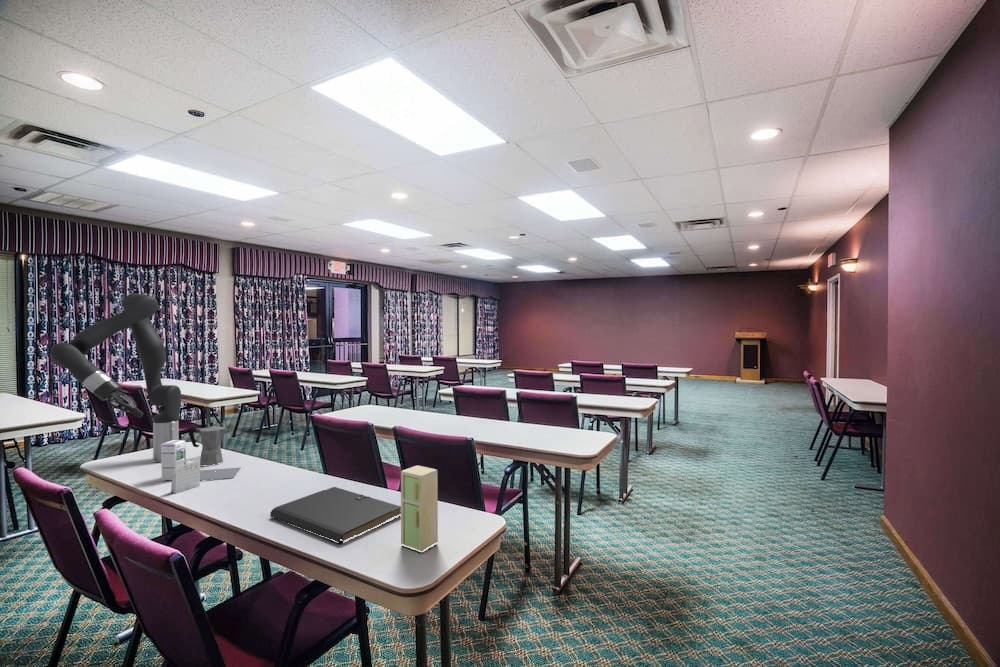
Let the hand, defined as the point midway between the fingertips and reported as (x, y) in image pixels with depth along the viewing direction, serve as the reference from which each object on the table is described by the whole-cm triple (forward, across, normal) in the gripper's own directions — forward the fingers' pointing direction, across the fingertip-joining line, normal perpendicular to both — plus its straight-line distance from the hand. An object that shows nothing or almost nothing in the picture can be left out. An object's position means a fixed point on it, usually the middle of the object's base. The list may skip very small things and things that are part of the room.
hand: (140, 416), depth 178 cm
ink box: (+31, -15, +4) cm, 35 cm away
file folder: (+69, -58, -32) cm, 96 cm away
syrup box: (+26, 0, +10) cm, 27 cm away
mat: (+34, 0, +1) cm, 35 cm away
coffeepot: (+31, +19, +5) cm, 36 cm away
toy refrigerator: (+84, -86, -48) cm, 129 cm away
